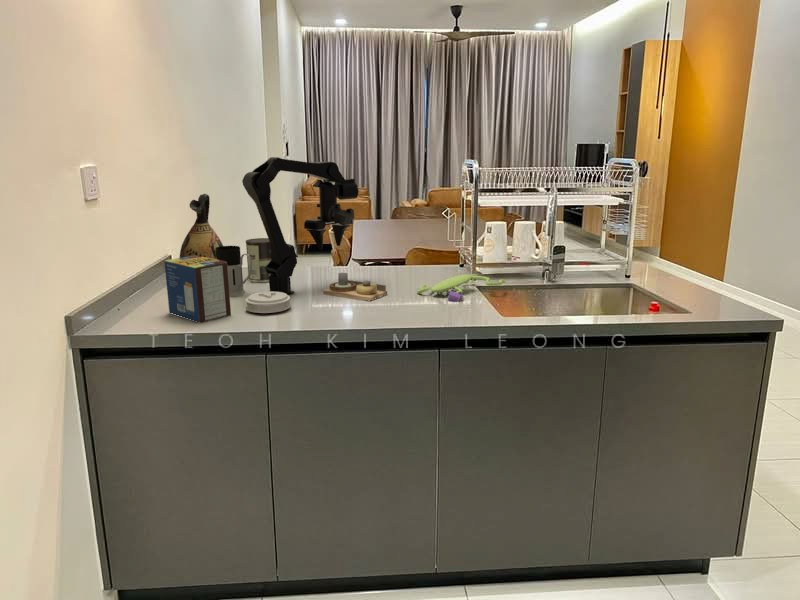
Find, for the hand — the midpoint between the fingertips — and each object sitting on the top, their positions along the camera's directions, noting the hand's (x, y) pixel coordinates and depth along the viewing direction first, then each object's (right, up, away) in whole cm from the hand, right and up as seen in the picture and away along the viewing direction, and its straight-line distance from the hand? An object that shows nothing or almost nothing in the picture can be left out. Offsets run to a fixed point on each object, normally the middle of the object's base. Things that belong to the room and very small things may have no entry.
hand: (329, 247), depth 203 cm
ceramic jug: (-46, -10, +12) cm, 48 cm away
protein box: (-33, -22, -31) cm, 50 cm away
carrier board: (+9, -16, -9) cm, 20 cm away
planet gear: (+5, -14, -7) cm, 16 cm away
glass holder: (-29, -16, -9) cm, 34 cm away
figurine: (+44, -16, -6) cm, 47 cm away
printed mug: (-25, -10, +13) cm, 30 cm away
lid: (-15, -21, -26) cm, 37 cm away
